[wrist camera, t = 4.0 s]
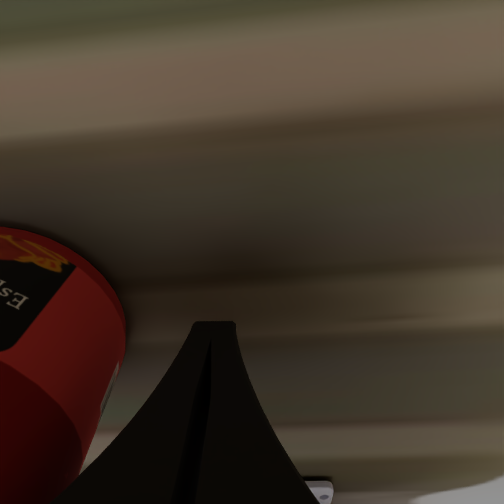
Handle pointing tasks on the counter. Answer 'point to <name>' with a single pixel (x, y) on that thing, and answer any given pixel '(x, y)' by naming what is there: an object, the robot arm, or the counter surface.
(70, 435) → the canned food
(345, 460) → the counter surface
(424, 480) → the counter surface
